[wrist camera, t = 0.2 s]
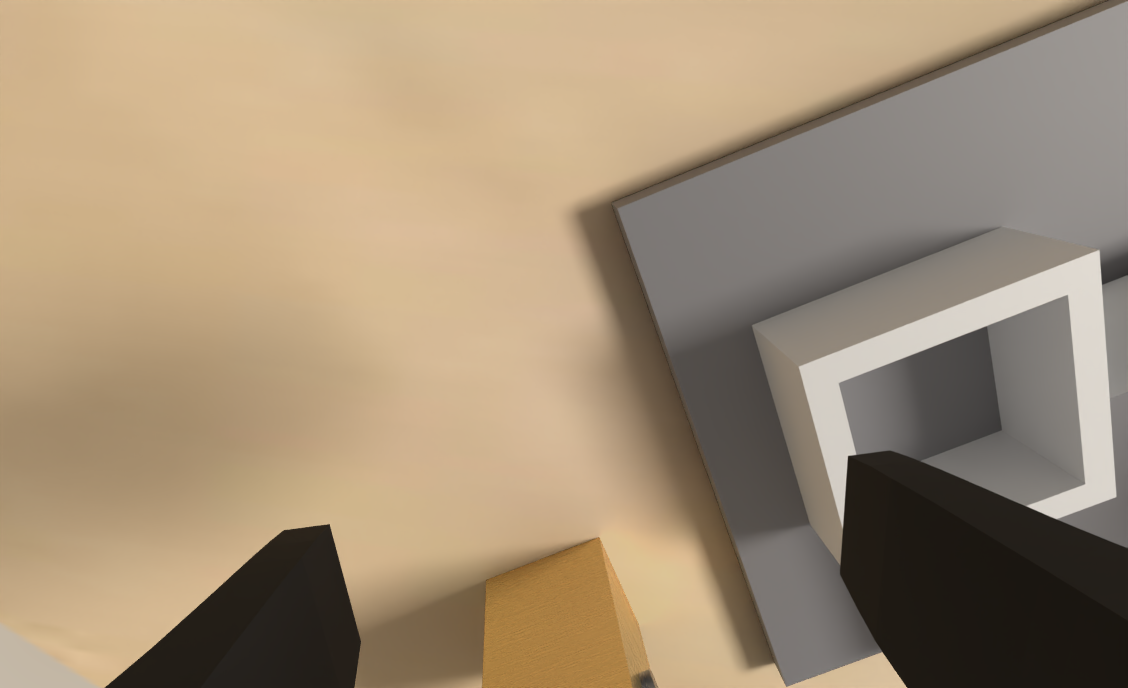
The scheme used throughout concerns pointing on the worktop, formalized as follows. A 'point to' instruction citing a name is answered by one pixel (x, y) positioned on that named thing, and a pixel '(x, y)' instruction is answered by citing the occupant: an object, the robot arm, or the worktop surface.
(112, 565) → the worktop surface
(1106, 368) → the shaft board
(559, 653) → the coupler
